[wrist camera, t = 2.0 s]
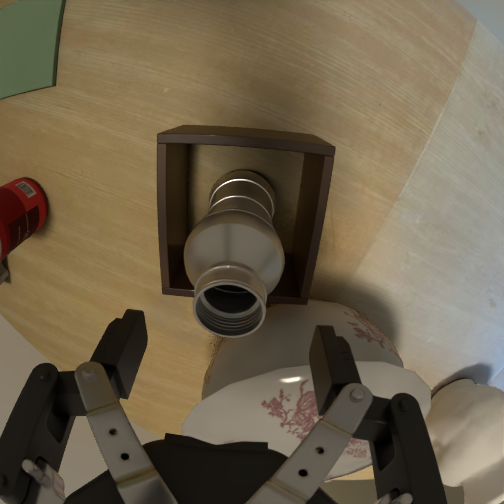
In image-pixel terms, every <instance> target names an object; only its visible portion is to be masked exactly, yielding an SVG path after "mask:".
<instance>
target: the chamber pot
mask: <svg viewBox="0 0 504 504" xmlns="http://www.w3.org/2000/svg"><path fill="white" fill-rule="evenodd" d="M316 325H332V326H333V327H334V330H335V334H336V336H343V337H344V338H345V340H346V341H347V342H348V343H349V345H350V348H351V351H352V354H353V357H354V360H355V363H356V366H357V369H358V372H359V376H360V379H361V382H362V385H364V386H366V387H367V388H368V389H369V390H370V391H371V393H372V395H374V396H377V397H382V398H387V399H392V397H393V396H394V395H395V394H398V393H408V394H410V395H412V396H413V397H415V398H416V400H417V401H418V403H419V406H420V409H421V412H422V415H423V418H424V421H425V419H426V417H427V415H428V413H429V411H430V408H431V393H430V387H429V386H428V385H427V384H426V383H425V382H424V381H423V380H422V379H421V377H420V376H419V375H418V374H417V373H416V372H414V371H411V370H408V369H405V368H404V365H403V362H402V360H401V358H400V356H399V353H398V351H397V349H396V347H395V346H394V345H393V344H392V343H391V341H390V340H389V339H388V338H387V337H386V336H385V335H384V333H383V332H382V331H381V330H380V329H379V328H378V327H377V326H376V325H375V324H374V323H373V322H372V321H371V320H370V319H369V318H368V317H367V316H366V315H365V314H362V313H360V312H358V311H355V310H353V309H351V308H348V307H346V306H344V305H341V304H337V303H334V302H330V301H325V300H316V299H308V303H307V305H293V304H274V305H272V306H269V307H267V308H266V314H265V319H264V321H263V323H262V325H261V326H260V327H259V328H258V329H257V330H256V331H254V332H253V333H251V334H249V335H246V336H243V337H238V338H228V337H225V338H224V339H223V341H222V342H221V344H220V346H219V347H218V349H217V350H216V352H215V354H214V356H213V358H212V360H211V362H210V365H209V367H208V369H207V371H206V373H205V377H204V383H203V389H202V401H200V402H199V403H197V404H196V405H195V406H194V408H193V409H192V411H191V412H190V413H189V415H188V416H187V418H186V419H185V420H184V422H183V423H182V433H183V436H190V437H193V438H196V439H199V440H202V441H205V442H208V443H211V444H215V445H219V444H227V443H234V442H240V441H250V442H268V449H272V450H275V451H278V452H280V453H282V454H284V455H286V456H287V457H289V456H290V455H291V454H292V453H293V452H294V450H295V449H296V448H297V447H298V445H299V444H300V443H301V442H302V440H303V439H304V438H305V437H306V435H307V434H308V433H309V432H310V430H311V429H312V428H313V426H314V425H315V424H316V422H317V421H318V420H319V419H320V418H322V417H323V416H318V410H317V404H316V398H315V392H314V386H313V380H312V374H311V369H310V363H309V350H310V346H311V342H312V338H313V335H314V331H315V327H316ZM371 465H372V459H371V453H370V447H369V442H368V441H366V440H360V439H355V438H351V440H350V442H349V443H348V445H347V446H346V448H345V450H344V451H343V453H342V454H341V456H340V457H339V459H338V460H337V462H336V463H335V465H334V466H333V468H332V469H331V471H330V472H329V474H328V475H327V476H326V478H325V479H324V481H325V482H330V481H331V479H334V478H338V477H342V476H345V475H348V474H352V473H355V472H357V471H360V470H362V469H364V468H367V467H369V466H371Z"/></svg>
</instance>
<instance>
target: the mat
mask: <svg viewBox="0 0 504 504" xmlns="http://www.w3.org/2000/svg"><path fill="white" fill-rule="evenodd" d="M64 5H65V0H19V1H17V2H15V3H13V4H11V5H9V6H7V7H4V8H2V9H0V99H2V98H6V97H9V96H13V95H17V94H21V93H25V92H29V91H33V90H37V89H41V88H46V87H51V86H55V85H56V69H57V57H58V47H59V38H60V30H61V23H62V17H63V11H64Z"/></svg>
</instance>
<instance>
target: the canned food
mask: <svg viewBox="0 0 504 504" xmlns="http://www.w3.org/2000/svg"><path fill="white" fill-rule="evenodd" d="M47 210H48V209H47V201H46V198H45V195H44V193H43V191H42V189H41V188H40V187H39V186H38V185H37V184H36V183H35V182H34V181H32V180H30V179H25V178H20V179H16V180H14V181H12V182H10V183H8V184H5V185H3V186H1V187H0V260H2V259H3V258H4V257H5V256H6V255H8V254H9V253H10V252H11V251H12V250H14V249H15V248H16V247H17V246H18V245H20V244H21V243H22V242H23V241H24V240H26V239H27V238H28V237H29V236H31V235H32V234H33V233H35V232H36V231H37V230H38V229H40V227H41V226H42V225H43V223H44V221H45V219H46V216H47Z"/></svg>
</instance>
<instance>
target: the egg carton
mask: <svg viewBox="0 0 504 504" xmlns="http://www.w3.org/2000/svg"><path fill="white" fill-rule="evenodd" d="M8 275H9V274H8V270H7V269H6V268H5V267H4V266H3V265H2V260H0V285H1V284H2V283H3V282H4V281H5V278H7V276H8Z"/></svg>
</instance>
